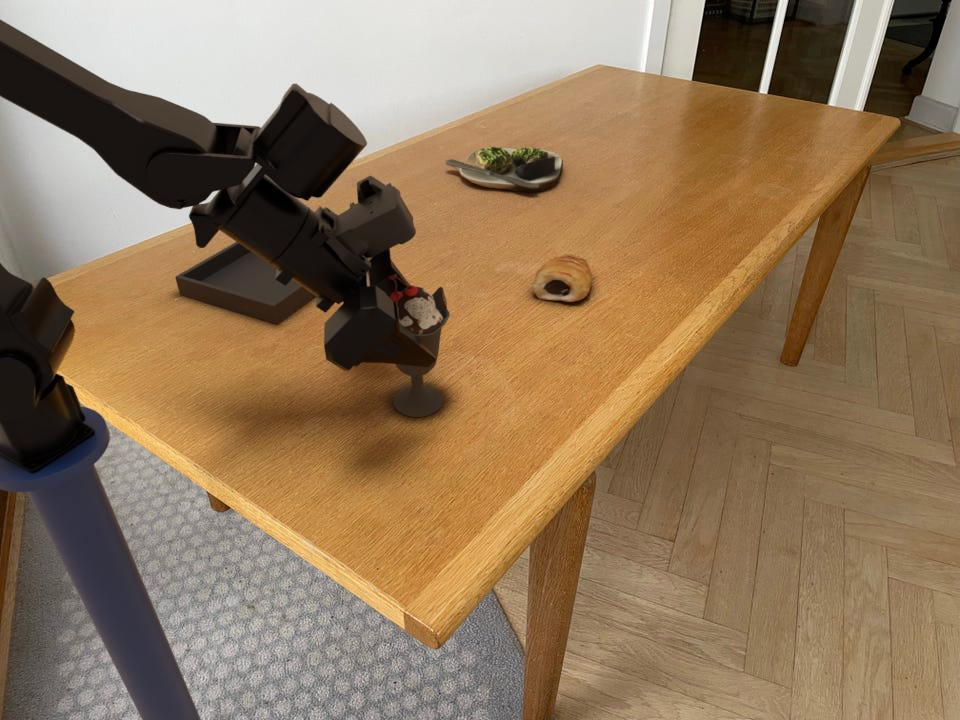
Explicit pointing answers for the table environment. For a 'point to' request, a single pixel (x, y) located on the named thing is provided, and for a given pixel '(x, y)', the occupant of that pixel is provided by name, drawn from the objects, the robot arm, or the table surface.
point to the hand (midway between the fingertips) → (427, 334)
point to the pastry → (563, 279)
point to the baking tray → (242, 285)
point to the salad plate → (511, 168)
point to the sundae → (425, 323)
